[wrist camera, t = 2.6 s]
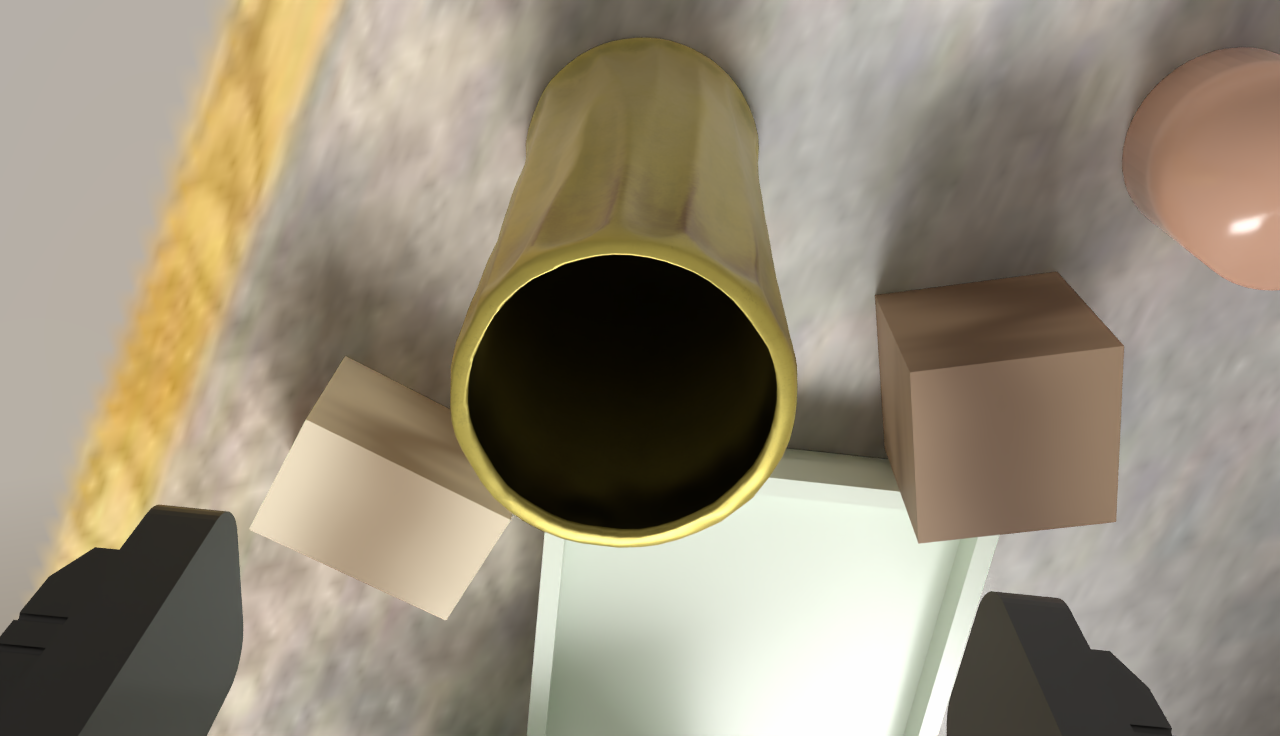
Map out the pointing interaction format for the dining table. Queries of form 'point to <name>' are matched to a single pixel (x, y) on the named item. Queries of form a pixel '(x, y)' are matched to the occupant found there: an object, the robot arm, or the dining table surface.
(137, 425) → the dining table surface
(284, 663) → the dining table surface
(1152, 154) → the peach domed puck
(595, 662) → the tray
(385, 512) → the maple block
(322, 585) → the dining table surface
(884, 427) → the walnut block
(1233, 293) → the dining table surface
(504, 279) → the vase
